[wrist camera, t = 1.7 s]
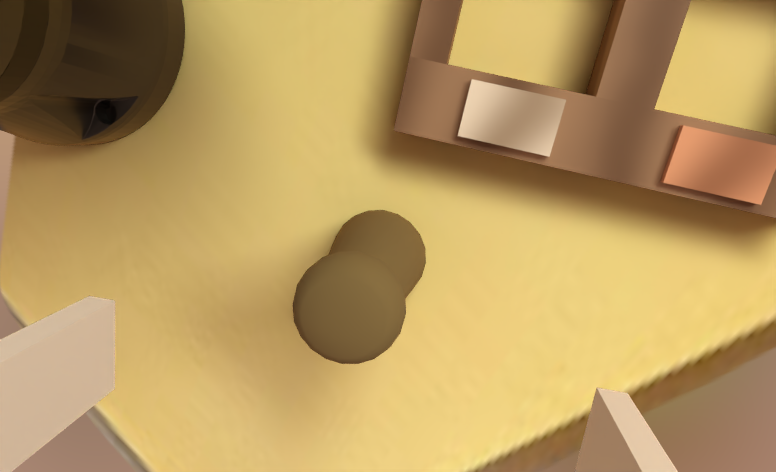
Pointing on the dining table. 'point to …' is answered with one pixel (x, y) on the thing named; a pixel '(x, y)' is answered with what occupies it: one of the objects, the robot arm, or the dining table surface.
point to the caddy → (590, 113)
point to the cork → (360, 288)
